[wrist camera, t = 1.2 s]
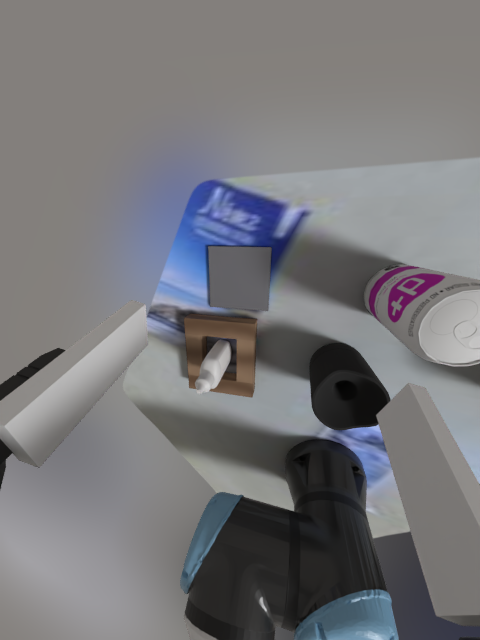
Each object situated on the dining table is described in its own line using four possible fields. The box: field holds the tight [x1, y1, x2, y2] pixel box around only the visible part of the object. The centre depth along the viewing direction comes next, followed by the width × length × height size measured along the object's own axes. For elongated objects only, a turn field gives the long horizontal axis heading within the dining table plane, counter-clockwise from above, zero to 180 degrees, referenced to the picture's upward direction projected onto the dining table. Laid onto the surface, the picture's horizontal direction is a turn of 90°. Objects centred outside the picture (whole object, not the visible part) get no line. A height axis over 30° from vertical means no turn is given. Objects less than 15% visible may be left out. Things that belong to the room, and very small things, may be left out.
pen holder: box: [310, 343, 390, 430], centre depth 34 cm, size 9×9×10 cm
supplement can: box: [363, 264, 480, 366], centre depth 26 cm, size 8×8×15 cm
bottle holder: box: [184, 314, 257, 397], centre depth 41 cm, size 14×12×2 cm
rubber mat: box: [208, 246, 272, 311], centre depth 37 cm, size 10×10×1 cm
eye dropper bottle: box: [195, 340, 232, 394], centre depth 37 cm, size 4×6×12 cm
